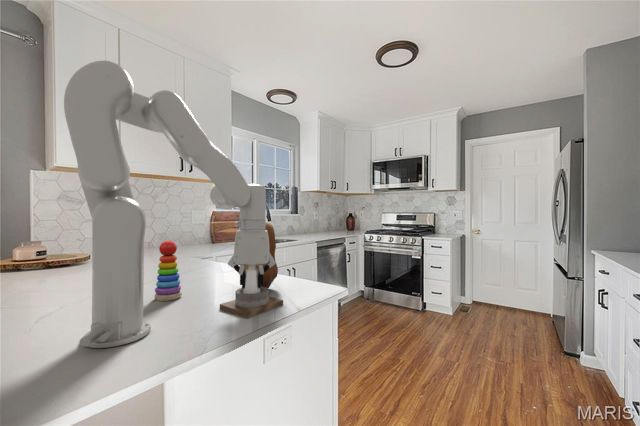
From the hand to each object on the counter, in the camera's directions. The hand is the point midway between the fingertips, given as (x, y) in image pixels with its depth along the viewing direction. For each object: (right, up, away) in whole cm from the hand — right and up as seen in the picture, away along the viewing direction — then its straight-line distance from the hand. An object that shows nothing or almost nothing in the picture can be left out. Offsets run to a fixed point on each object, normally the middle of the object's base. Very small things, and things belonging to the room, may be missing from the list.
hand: (251, 286), depth 85 cm
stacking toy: (-29, -6, +8) cm, 31 cm away
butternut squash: (-1, -6, +18) cm, 19 cm away
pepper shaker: (0, -3, 0) cm, 3 cm away
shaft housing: (0, -6, 0) cm, 6 cm away
